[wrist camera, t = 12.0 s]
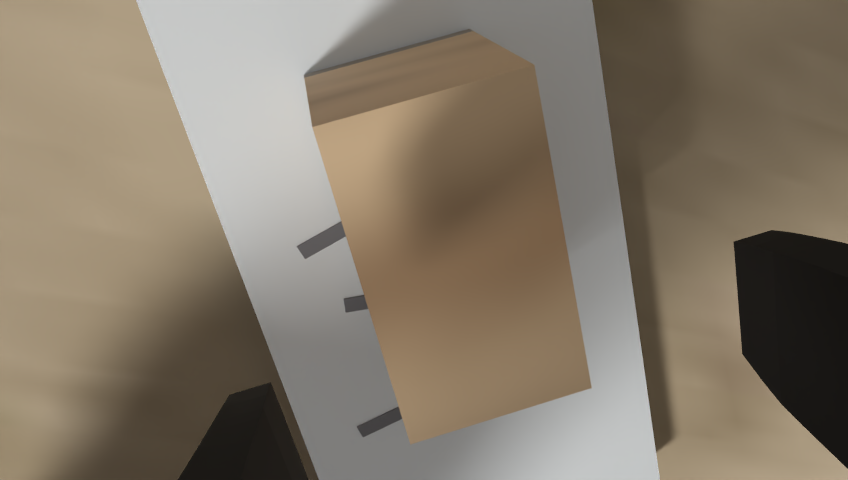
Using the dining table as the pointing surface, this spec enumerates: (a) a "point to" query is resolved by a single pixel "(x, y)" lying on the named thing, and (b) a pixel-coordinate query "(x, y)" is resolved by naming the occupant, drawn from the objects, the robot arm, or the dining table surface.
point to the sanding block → (453, 227)
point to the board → (329, 250)
